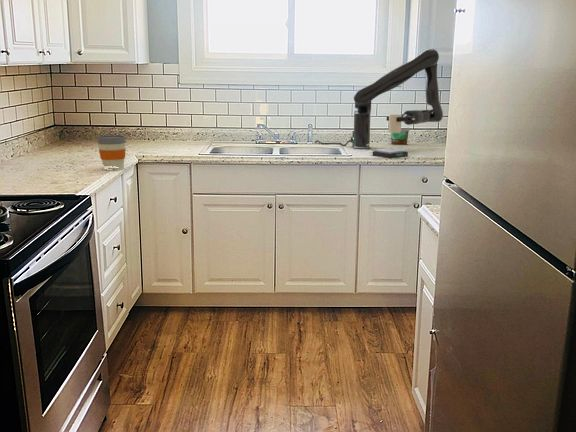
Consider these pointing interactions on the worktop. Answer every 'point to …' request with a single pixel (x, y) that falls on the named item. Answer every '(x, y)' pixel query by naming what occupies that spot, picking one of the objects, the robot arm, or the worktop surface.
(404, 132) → the food container
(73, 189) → the worktop surface
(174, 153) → the worktop surface
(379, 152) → the scale
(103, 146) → the reusable coffee cup
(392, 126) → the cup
